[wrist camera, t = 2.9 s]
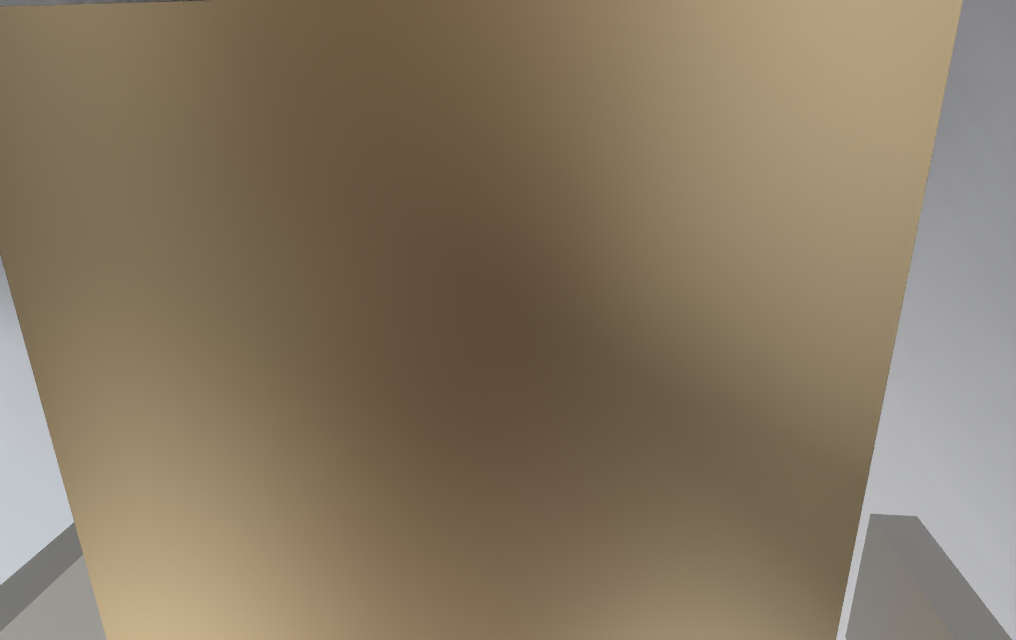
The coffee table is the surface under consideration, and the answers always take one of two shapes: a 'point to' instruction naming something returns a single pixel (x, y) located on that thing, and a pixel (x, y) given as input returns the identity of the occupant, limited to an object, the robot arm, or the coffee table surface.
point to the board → (466, 305)
